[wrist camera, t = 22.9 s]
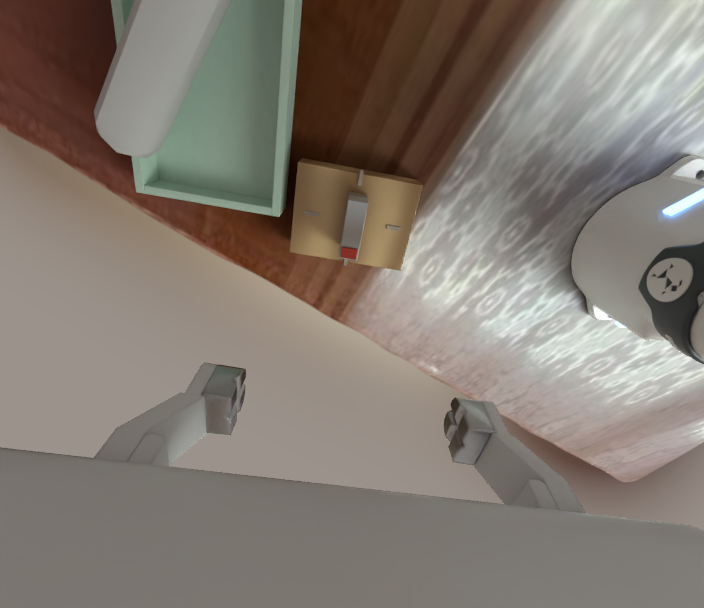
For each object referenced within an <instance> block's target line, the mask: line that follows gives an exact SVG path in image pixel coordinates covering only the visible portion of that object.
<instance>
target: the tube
mask: <svg viewBox="0 0 704 608" xmlns="http://www.w3.org/2000/svg"><path fill="white" fill-rule="evenodd" d="M231 1H232V0H135V1H134V3H133V6H132V9H131V11H130V14H129V17H128V20H127V22H126V25H125V28H124V30H123V33H122V36H121V39H120V41H119V44H118V47H117V50H116V52H115V55H114V58H113V60H112V63H111V66H110V69H109V71H108V74H107V77H106V79H105V82H104V85H103V88H102V90H101V93H100V96H99V98H98V101H97V104H96V107H95V109H94V116H95V122H96V127H97V132H98V133H99V135H100V136H101V137H102V138H103V139H104V140H105V141H106V142H107V143H108V144H109V145H110V146H111V147H112V148H113V149H114V150H115V151H116V152H117V153H121V154H126V155H130V156H135V157H140V158H146V159H147V158H148V157H150V156H151V155H153V154H155V153H156V152H158V151H159V150H160V149H161V147H162V145H163V143H164V141H165V139H166V137H167V135H168V133H169V130H170V128H171V126H172V124H173V122H174V120H175V118H176V116H177V114H178V112H179V110H180V107H181V105H182V103H183V101H184V99H185V97H186V95H187V93H188V91H189V89H190V87H191V84H192V82H193V80H194V78H195V76H196V74H197V72H198V70H199V68H200V66H201V64H202V61H203V59H204V57H205V55H206V53H207V51H208V49H209V47H210V45H211V43H212V41H213V38H214V36H215V34H216V32H217V30H218V28H219V26H220V24H221V22H222V20H223V18H224V15H225V13H226V11H227V9H228V7H229V5H230V3H231Z"/></svg>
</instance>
